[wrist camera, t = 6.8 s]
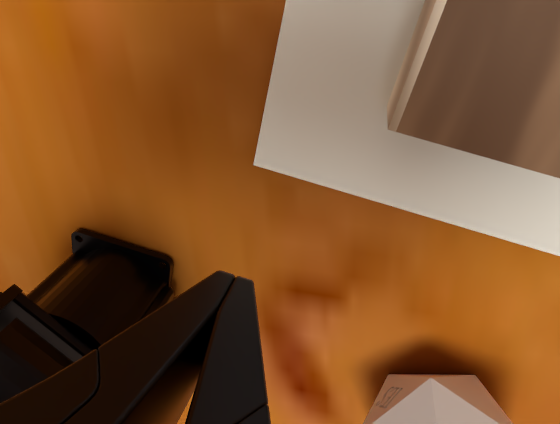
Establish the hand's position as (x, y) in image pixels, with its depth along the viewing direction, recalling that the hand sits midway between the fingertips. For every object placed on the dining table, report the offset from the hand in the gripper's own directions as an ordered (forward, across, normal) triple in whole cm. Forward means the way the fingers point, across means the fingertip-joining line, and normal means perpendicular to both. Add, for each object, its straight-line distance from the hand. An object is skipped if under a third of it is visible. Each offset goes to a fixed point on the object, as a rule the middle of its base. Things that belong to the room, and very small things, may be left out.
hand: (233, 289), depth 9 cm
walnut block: (+9, -3, -5) cm, 11 cm away
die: (+12, -12, +14) cm, 22 cm away
